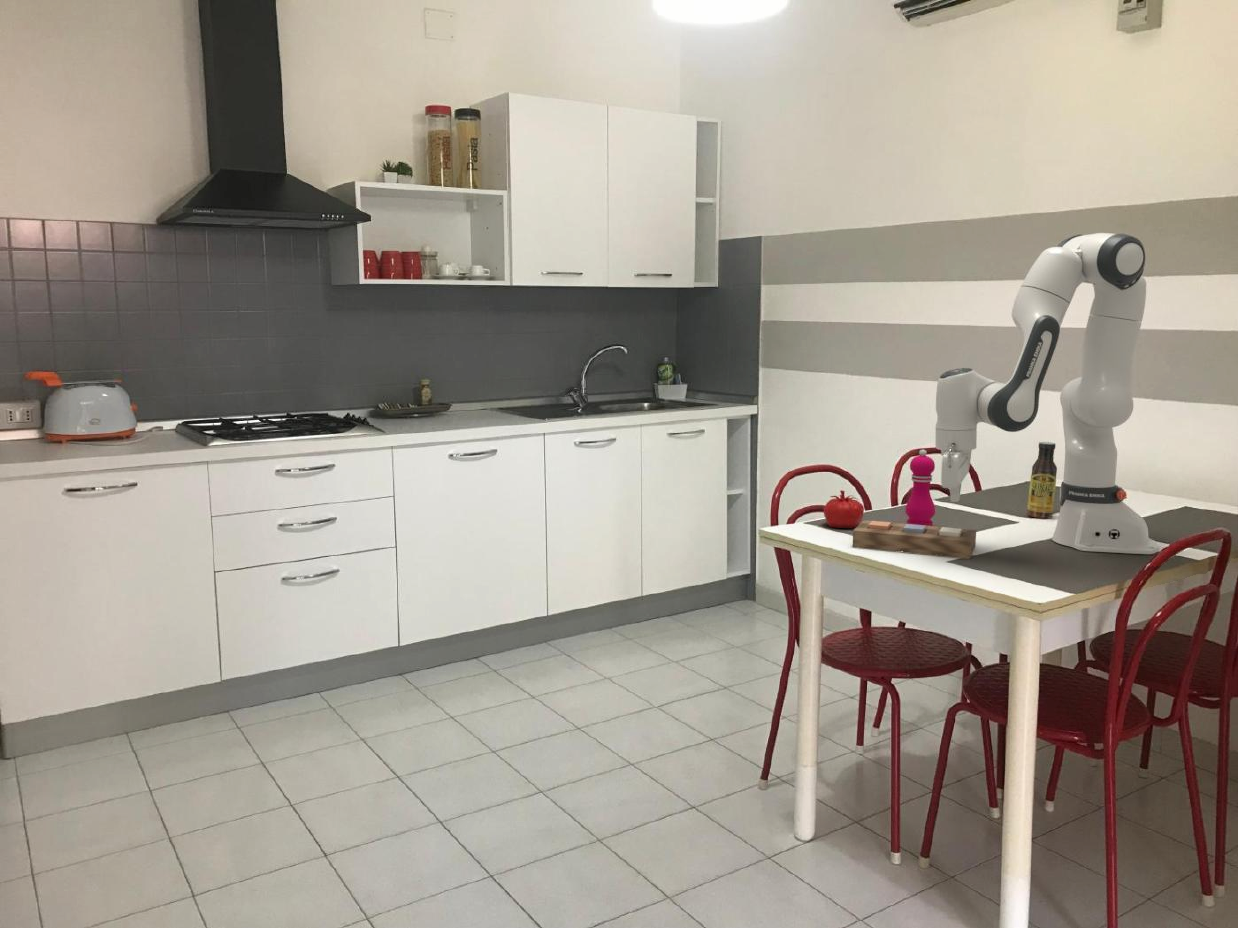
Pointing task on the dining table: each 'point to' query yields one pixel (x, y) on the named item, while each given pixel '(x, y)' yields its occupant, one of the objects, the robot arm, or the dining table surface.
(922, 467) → the pepper mill
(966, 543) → the button panel
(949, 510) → the dining table surface
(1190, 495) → the dining table surface
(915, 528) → the slate button
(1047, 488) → the sauce bottle
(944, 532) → the cream button
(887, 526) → the terracotta button
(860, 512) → the red tomato
